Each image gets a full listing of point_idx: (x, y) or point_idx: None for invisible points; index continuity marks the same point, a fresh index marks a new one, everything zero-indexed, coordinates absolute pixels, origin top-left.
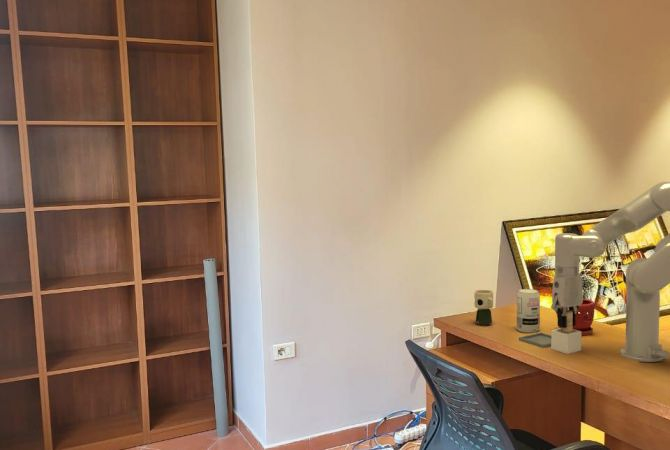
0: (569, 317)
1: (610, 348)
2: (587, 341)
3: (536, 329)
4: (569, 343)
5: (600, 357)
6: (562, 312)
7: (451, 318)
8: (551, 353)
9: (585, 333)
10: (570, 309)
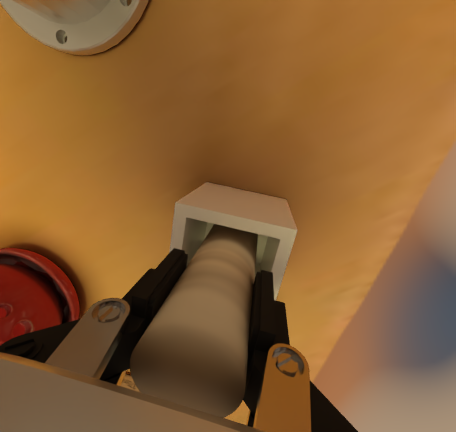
0: (227, 303)
1: (82, 121)
2: (79, 225)
3: (122, 381)
4: (276, 209)
5: (214, 86)
6: (305, 396)
7: None
8: (297, 255)
9: (37, 255)
10: (106, 372)
